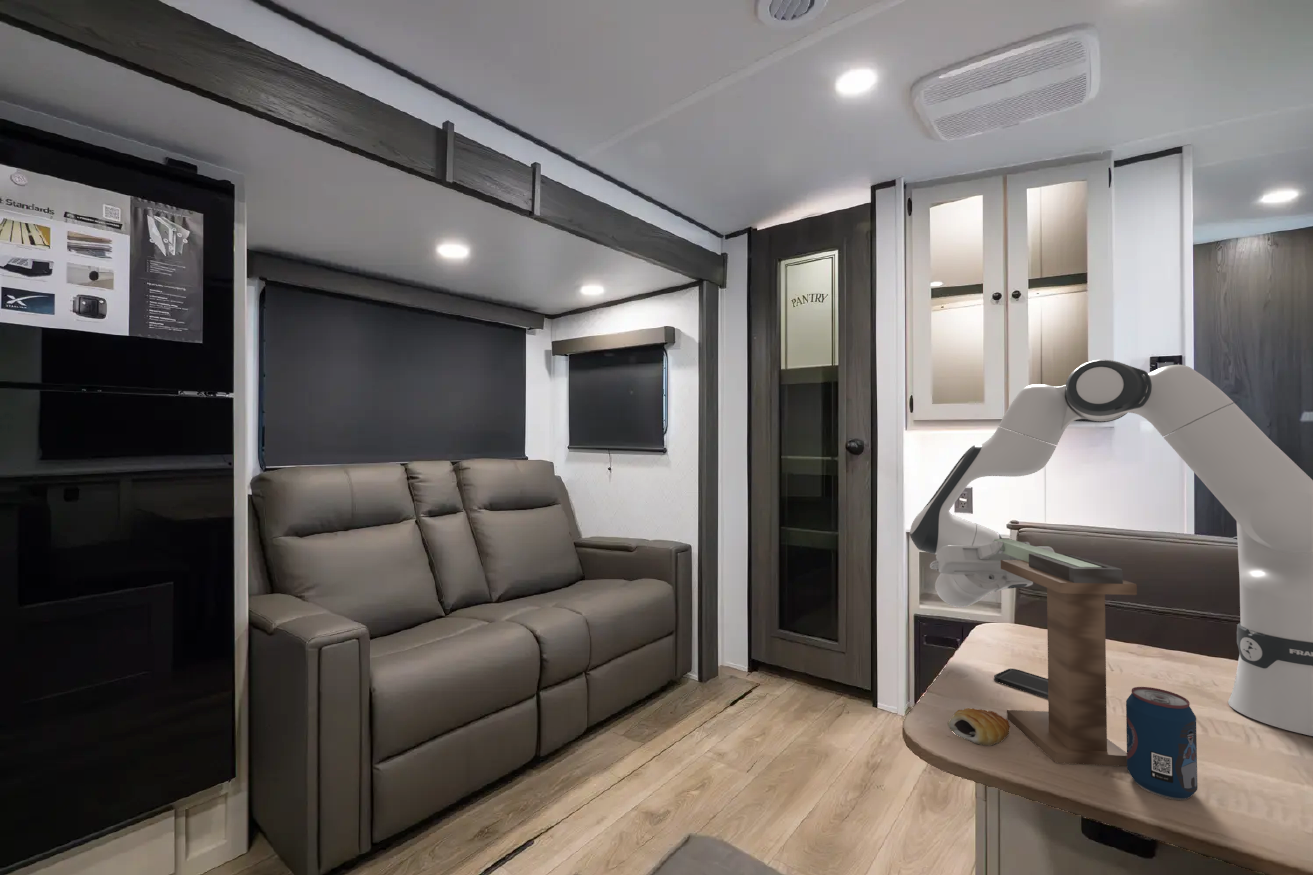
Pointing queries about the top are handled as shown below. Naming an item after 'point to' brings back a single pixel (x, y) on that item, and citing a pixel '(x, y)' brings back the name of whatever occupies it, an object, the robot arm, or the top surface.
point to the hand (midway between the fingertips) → (1013, 545)
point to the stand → (1073, 660)
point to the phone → (1024, 681)
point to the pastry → (979, 726)
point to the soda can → (1161, 743)
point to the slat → (1024, 550)
